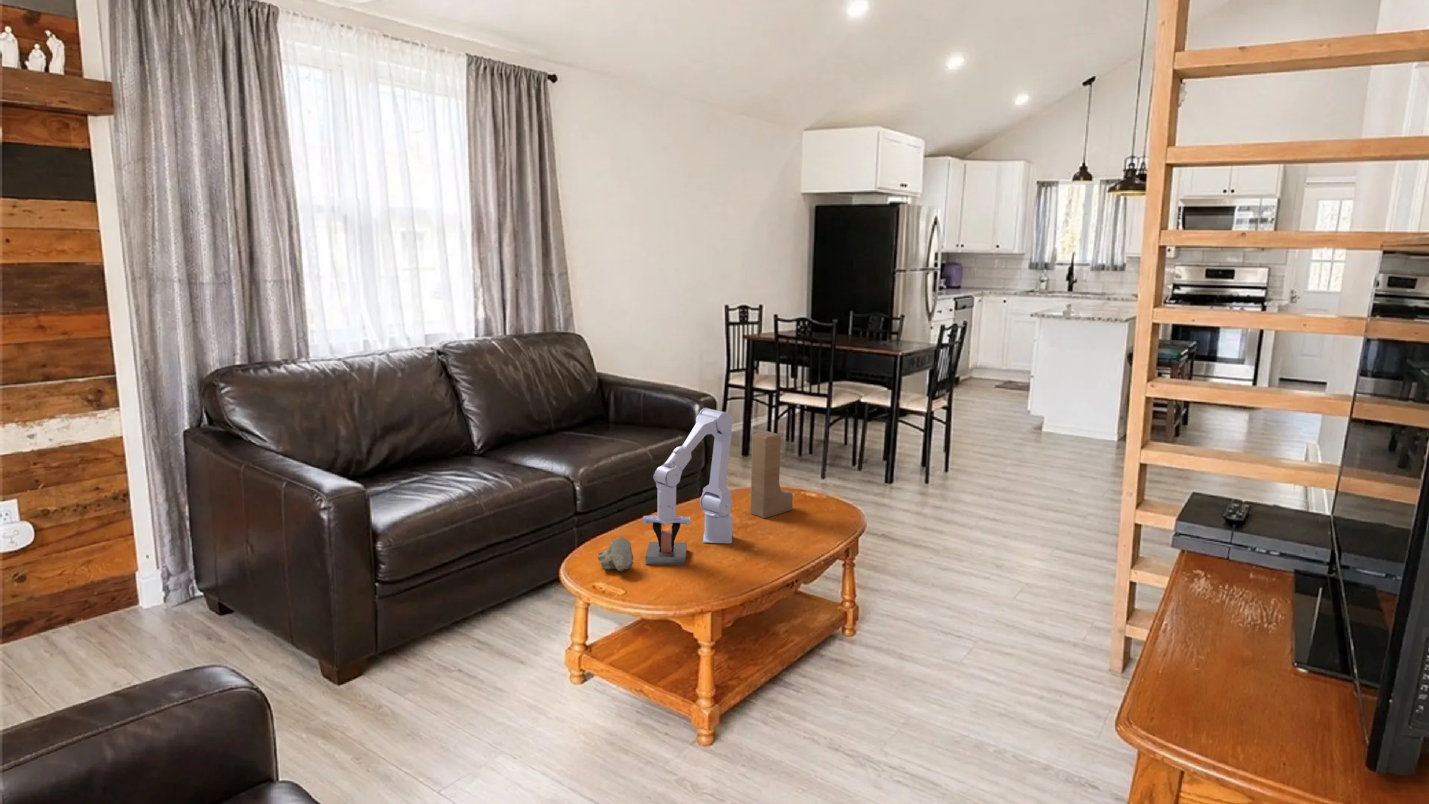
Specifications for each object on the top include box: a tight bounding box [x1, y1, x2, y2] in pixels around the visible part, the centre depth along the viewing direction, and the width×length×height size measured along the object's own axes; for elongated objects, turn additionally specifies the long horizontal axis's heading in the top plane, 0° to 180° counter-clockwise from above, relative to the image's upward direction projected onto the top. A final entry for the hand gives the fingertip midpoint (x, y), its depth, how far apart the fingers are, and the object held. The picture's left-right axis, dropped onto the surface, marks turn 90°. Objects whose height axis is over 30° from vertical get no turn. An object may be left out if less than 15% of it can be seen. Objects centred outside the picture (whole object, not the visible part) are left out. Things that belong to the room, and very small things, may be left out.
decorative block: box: [750, 430, 794, 519], centre depth 294 cm, size 8×15×30 cm, turn 132°
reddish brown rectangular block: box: [661, 529, 672, 552], centre depth 254 cm, size 3×3×7 cm
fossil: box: [596, 536, 634, 572], centre depth 245 cm, size 14×10×10 cm
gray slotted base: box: [644, 541, 688, 566], centre depth 254 cm, size 12×12×2 cm
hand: (666, 545), depth 254 cm, fingers closed on reddish brown rectangular block, 3 cm apart
